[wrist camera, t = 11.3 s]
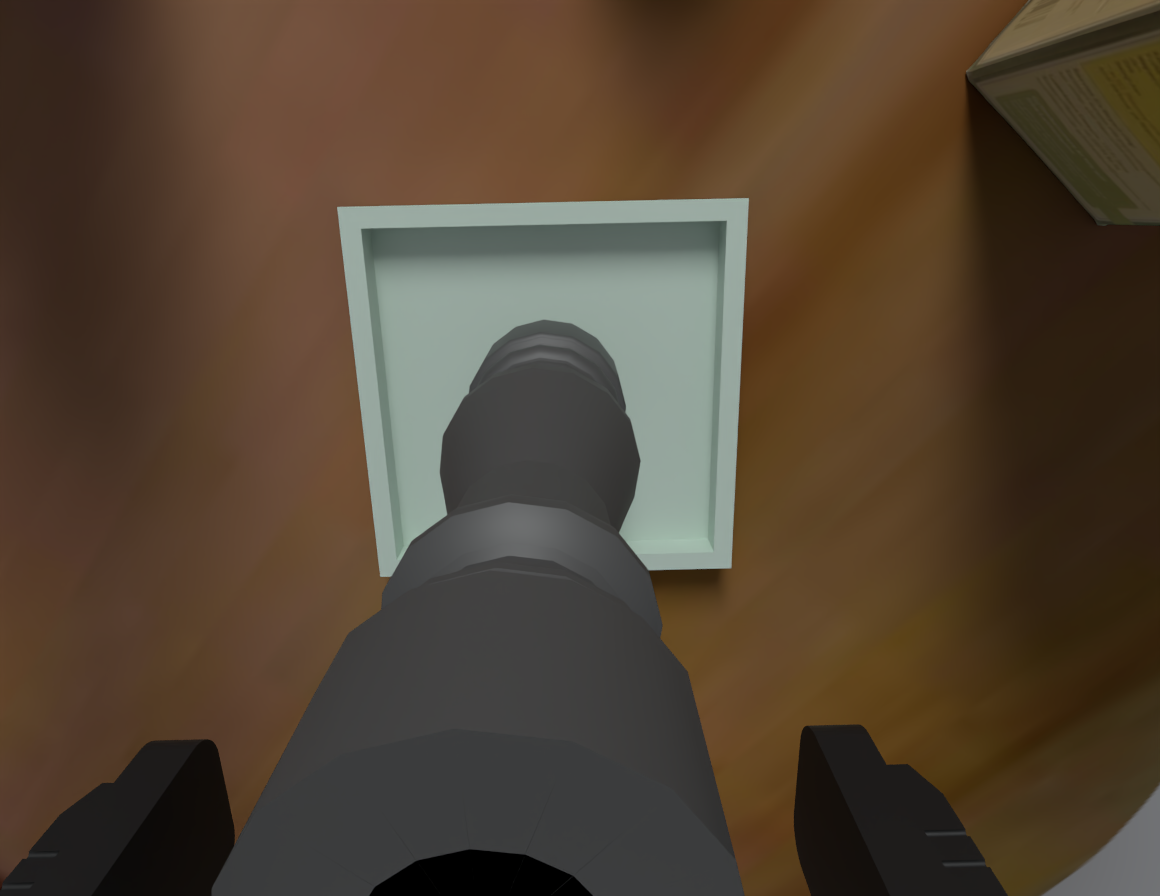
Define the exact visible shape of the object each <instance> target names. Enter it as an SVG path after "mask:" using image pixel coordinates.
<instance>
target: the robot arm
mask: <svg viewBox="0 0 1160 896" xmlns="http://www.w3.org/2000/svg"><path fill="white" fill-rule="evenodd" d="M794 832H795V840H796V847H797V852H798V856H799V860H800V864H801V867H802V870H803V873H804V876H805V879H806V882H807V884H808V887H809V890H810V893H811V896H1008V895H1007V893H1006V892H1005V890H1004V889H1003V887H1002V886H1001V884H1000V883H999V881H998V879H997V878H996V876H995V875H994V873H993V872H992V870H991V868H990V867H986V865H985V859H984V858H983V856H982V854H981V853H980V851H979V850H978V848H977V847H976V845H975V843H974V842H973V840H972V839H971V837H970V836H967V835H966V832H965V828H964V826H963V825H962V823H961V822H960V820H959V818H958V817H957V815H956V814H955V812H954V811H953V809H952V808H951V806H950V804H949V803H948V801H947V800H946V798H945V797H944V795H943V794H942V793H941V792H940V791H939V790H938V789H937V788H935V787H934V786H933V785H932V784H931V783H929V782H928V781H927V780H926V779H925V778H923V777H922V776H921V775H920V774H919V773H918V772H916V771H915V770H914V769H913V768H912V767H910V766H909V765H908V764H900V765H886V763H885V761H884V760H883V758H882V756H881V754H880V753H879V751H878V749H877V747H876V746H875V744H874V742H873V740H872V739H871V737H870V735H869V733H868V732H867V730H866V729H865V728H864V727H863V726H862V725H820V726H805V727H804V728H803V730H802V733H801V739H800V750H799V762H798V773H797V785H796V796H795V808H794ZM234 841H235V832H234V824H233V819H232V815H231V810H230V805H229V800H228V795H227V791H226V786H225V781H224V776H223V772H222V767H221V762H220V757H219V753H218V749H217V747H216V745H215V744H214V742H213V741H211V740H208V739H204V740H165V741H151V742H149V743H147V744H146V745H145V746H144V747H143V748H142V749H141V750H140V751H139V752H138V753H137V755H136V756H135V757H134V758H133V760H132V761H131V762H130V763H129V765H128V766H127V767H126V769H125V770H124V771H123V772H122V774H121V775H120V776H119V777H118V779H117V780H116V781H115V782H114V783H102V784H101V785H99V786H98V787H96V788H95V789H94V790H92V791H91V792H90V793H88V794H87V795H86V796H84V797H83V798H82V799H80V800H79V801H78V802H76V803H75V804H74V805H72V806H71V807H70V808H68V809H67V810H66V811H64V812H63V813H62V814H60V815H59V817H58V818H57V819H56V820H55V821H54V823H53V824H52V825H51V826H50V827H49V828H48V830H47V831H46V832H45V833H44V834H43V836H42V837H41V838H40V839H39V840H38V841H37V843H36V844H35V845H34V846H33V847H32V849H31V850H30V851H29V856H28V858H27V859H22V860H21V862H20V863H19V864H18V865H17V866H16V867H15V869H14V870H13V871H12V872H11V873H10V875H9V876H8V877H7V878H6V879H5V880H4V882H3V885H2V889H1V890H0V896H212V887H213V885H214V883H215V881H216V879H217V878H218V876H219V874H220V872H221V870H222V868H223V866H224V864H225V862H226V860H227V859H228V857H229V855H230V853H231V851H232V849H233V847H234Z"/></svg>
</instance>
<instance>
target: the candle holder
mask: <svg viewBox="0 0 1160 896" xmlns="http://www.w3.org/2000/svg"><path fill="white" fill-rule="evenodd" d="M625 411H626V404H625V400H624V396H623V392H622V388H621V384H620V379H619V376H618V372H617V369H616V366H615V362H614V360H613V359H612V357H611V356H610V355H609V353H608V352H607V351H606V349H605V348H604V347H603V345H602V344H601V343H600V341H599V340H598V339H597V338H596V337H594V336H593V335H591V334H589V333H588V332H586V331H584V330H582V329H581V328H579V327H577V326H576V325H574V324H572V323H565V322H558V321H551V320H540V321H536V322H532V323H528V324H525V325H521V326H517V327H515V328H513V329H512V330H511V331H510V332H508V333H507V334H506V335H504V336H503V337H502V338H500V339H499V340H498V341H497V342H495V343H494V344H493V345H492V347H491V349H490V350H489V352H488V354H487V356H486V357H485V359H484V361H483V363H482V365H481V366H480V368H479V370H478V372H477V374H476V375H475V377H474V379H473V381H472V383H471V384H470V387H469V394H467V395H466V396H465V397H464V398H463V400H462V402H461V403H460V405H459V407H458V409H457V411H456V412H455V414H454V416H453V418H452V420H451V421H450V423H449V425H448V427H447V429H446V430H445V432H444V434H443V438H442V450H441V461H440V478H441V483H442V488H443V493H444V499H445V505H446V511H447V515H446V516H445V517H444V518H442V519H441V520H439V521H438V522H437V523H435V524H434V525H433V526H431V527H430V528H428V529H427V530H426V531H424V532H423V533H422V534H420V535H419V536H418V537H416V538H415V539H413V540H412V541H411V543H410V545H409V546H408V548H407V550H406V552H405V553H404V555H403V557H402V559H401V560H400V562H399V564H398V566H397V567H396V569H395V571H394V573H393V575H392V576H391V578H390V580H389V582H388V583H387V585H386V587H385V589H384V591H383V593H382V608H381V610H380V611H379V612H378V613H376V614H375V615H373V616H372V617H371V618H369V619H368V620H366V621H365V622H364V623H362V624H361V625H359V626H358V627H357V628H355V629H354V630H352V631H351V632H350V633H349V634H348V635H347V637H346V639H345V641H344V642H343V644H342V646H341V648H340V649H339V651H338V653H337V655H336V657H335V658H334V660H333V662H332V664H331V665H330V667H329V669H328V671H327V673H326V674H325V676H324V678H323V680H322V681H321V683H320V685H319V687H318V689H317V690H316V692H315V694H314V696H313V698H312V700H311V701H310V703H309V705H308V707H307V709H306V711H305V713H304V715H303V717H302V719H301V720H300V722H299V724H298V726H297V728H296V730H295V732H294V734H293V736H292V737H291V739H290V741H289V743H288V745H287V747H286V749H285V751H284V753H283V754H282V756H281V758H280V760H279V762H278V764H277V766H276V768H275V770H274V772H273V773H272V775H271V777H270V779H269V781H268V783H267V785H266V787H265V789H264V790H263V792H262V794H261V796H260V798H259V800H258V802H257V804H256V806H255V807H254V809H253V811H252V813H251V815H250V817H249V819H248V821H247V823H246V825H245V826H244V828H243V830H242V832H241V834H240V836H239V838H238V840H237V842H236V843H235V845H234V847H233V849H232V851H231V853H230V855H229V857H228V859H227V860H226V862H225V864H224V866H223V868H222V870H221V872H220V874H219V876H218V878H217V879H216V881H215V883H214V885H213V887H212V896H745V895H744V891H743V887H742V883H741V879H740V875H739V871H738V867H737V863H736V859H735V855H734V851H733V847H732V843H731V840H730V836H729V832H728V828H727V824H726V820H725V816H724V812H723V808H722V804H721V800H720V797H719V793H718V789H717V785H716V781H715V777H714V773H713V769H712V765H711V761H710V758H709V754H708V750H707V746H706V742H705V738H704V734H703V730H702V726H701V722H700V718H699V715H698V711H697V707H696V703H695V699H694V695H693V691H692V687H691V683H690V679H689V676H688V672H687V670H686V669H685V668H684V667H683V666H682V664H681V663H680V662H679V661H678V660H677V658H676V657H675V656H674V655H673V654H672V652H671V651H670V650H669V649H668V648H667V646H666V645H665V644H664V643H663V642H662V640H661V639H660V636H661V631H662V621H661V617H660V613H659V609H658V605H657V601H656V598H655V594H654V590H653V586H652V582H651V578H650V574H649V571H648V569H647V567H646V566H645V565H644V564H643V562H642V561H641V560H640V559H639V557H638V556H637V555H636V554H635V553H634V551H633V550H632V549H631V548H630V546H629V545H628V544H627V543H626V541H625V540H624V539H623V538H622V536H621V535H620V534H619V532H620V529H621V527H622V524H623V522H624V520H625V517H626V515H627V513H628V511H629V508H630V506H631V504H632V502H633V499H634V496H635V491H636V485H637V479H638V474H639V468H640V462H641V460H640V456H639V452H638V448H637V444H636V440H635V436H634V432H633V428H632V424H631V420H630V418H629V417H628V415H627V414H626V413H625Z"/></svg>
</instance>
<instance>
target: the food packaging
mask: <svg viewBox="0 0 1160 896" xmlns="http://www.w3.org/2000/svg"><path fill="white" fill-rule="evenodd" d="M966 74H967V77H968V79H969V81H970V82H971V83H972V84H973V85H974V86H975V88H976V89H977V90H978V91H979V92H980V93H981V94H982V95H983V97H984V98H985V99H986V100H987V101H988V102H989V103H990V104H991V105H992V106H993V108H994V109H995V110H996V111H997V112H998V113H999V114H1000V115H1001V116H1002V117H1003V118H1004V119H1005V120H1006V121H1007V122H1008V123H1009V125H1010V126H1011V127H1012V128H1013V129H1014V130H1015V131H1016V132H1017V133H1018V134H1019V135H1020V136H1021V138H1022V139H1023V140H1024V141H1025V142H1026V143H1027V144H1028V145H1029V146H1030V147H1031V149H1032V150H1033V151H1034V152H1035V153H1036V154H1037V155H1038V156H1039V158H1040V159H1041V160H1042V161H1043V162H1044V163H1045V164H1046V166H1047V167H1048V168H1049V169H1050V170H1051V171H1052V172H1053V174H1054V175H1055V176H1056V177H1057V178H1058V179H1059V180H1060V181H1061V182H1062V184H1063V185H1064V186H1065V187H1066V188H1067V189H1068V190H1069V192H1070V193H1071V194H1072V195H1073V196H1074V197H1075V199H1076V200H1077V201H1078V202H1079V203H1080V204H1081V205H1082V206H1083V208H1084V209H1085V210H1086V211H1087V212H1088V213H1089V214H1090V215H1091V216H1092V217H1093V219H1094V220H1095V222H1096V223H1097V225H1102V226H1106V225H1108V224H1112V225H1151V226H1160V0H1029V1H1028V2H1027V3H1026V4H1025V6H1024V7H1023V8H1022V9H1021V10H1020V11H1019V12H1018V13H1017V15H1016V16H1015V17H1014V18H1013V19H1012V20H1011V21H1010V23H1009V24H1008V25H1007V26H1006V27H1005V28H1004V29H1003V30H1002V31H1001V33H1000V34H999V35H998V36H997V37H996V38H995V39H994V40H993V41H992V42H991V43H990V45H989V46H988V47H987V49H986V50H985V51H984V53H983V54H982V55H981V56H980V57H979V58H978V59H977V60H976V62H975V63H974V64H973V65H972V66H971V67H970V68H969V69H968V70H967V71H966Z"/></svg>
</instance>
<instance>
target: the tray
mask: <svg viewBox="0 0 1160 896" xmlns="http://www.w3.org/2000/svg"><path fill="white" fill-rule="evenodd" d="M748 204H749V198H734V199H688V200H642V201H595V202H549V203H502V204H456V205H410V206H363V207H337V209H338V218H339V226H340V235H341V243H342V252H343V260H344V269H345V278H346V286H347V295H348V303H349V312H350V320H351V329H352V338H353V346H354V355H355V363H356V372H357V380H358V389H359V398H360V406H361V415H362V423H363V432H364V440H365V449H366V458H367V466H368V475H369V483H370V492H371V500H372V509H373V518H374V526H375V535H376V543H377V552H378V560H379V569H380V577H391V576H392V575H393V573H394V571H395V569H396V567H397V566H398V564H399V562H400V560H401V559H402V557H403V555H404V553H405V552H406V550H407V548H408V546H409V545H410V543H411V541H412V540H413V539H415V538H416V537H418V536H419V535H420V534H422V533H423V532H424V531H426V530H427V529H428V528H430V527H431V526H433V525H434V524H435V523H437V522H438V521H439V520H441V519H442V518H444V517H445V516H446V515H447V511H446V505H445V499H444V493H443V488H442V483H441V478H440V461H441V450H442V438H443V434H444V432H445V430H446V429H447V427H448V425H449V423H450V421H451V420H452V418H453V416H454V414H455V412H456V411H457V409H458V407H459V405H460V403H461V402H462V400H463V398H464V397H465V396H466V395H467V394H469V387H470V384H471V383H472V381H473V379H474V377H475V375H476V374H477V372H478V370H479V368H480V366H481V365H482V363H483V361H484V359H485V357H486V356H487V354H488V352H489V350H490V349H491V347H492V345H493V344H494V343H495V342H497V341H498V340H499V339H500V338H502V337H503V336H504V335H506V334H507V333H508V332H510V331H511V330H512V329H513V328H515V327H517V326H521V325H525V324H528V323H532V322H536V321H540V320H551V321H558V322H565V323H572V324H574V325H576V326H577V327H579V328H581V329H582V330H584V331H586V332H588V333H589V334H591V335H593V336H594V337H596V338H597V339H598V340H599V341H600V343H601V344H602V345H603V347H604V348H605V349H606V351H607V352H608V353H609V355H610V356H611V357H612V359H613V360H614V362H615V366H616V369H617V372H618V376H619V379H620V384H621V388H622V392H623V396H624V400H625V404H626V411H625V413H626V414H627V415H628V417H629V418H630V420H631V424H632V428H633V432H634V436H635V440H636V444H637V448H638V452H639V456H640V460H641V462H640V468H639V474H638V479H637V485H636V491H635V496H634V499H633V502H632V504H631V506H630V508H629V511H628V513H627V515H626V517H625V520H624V522H623V524H622V527H621V529H620V532H619V534H620V535H621V536H622V538H623V539H624V540H625V541H626V543H627V544H628V545H629V546H630V548H631V549H632V550H633V551H634V553H635V554H636V555H637V556H638V557H639V559H640V560H641V561H642V562H643V564H644V565H645V566H646V567H647V569H648V570H677V569H718V568H731V560H732V539H733V518H734V497H735V476H736V455H737V434H738V413H739V392H740V372H741V351H742V330H743V309H744V288H745V267H746V246H747V225H748Z"/></svg>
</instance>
